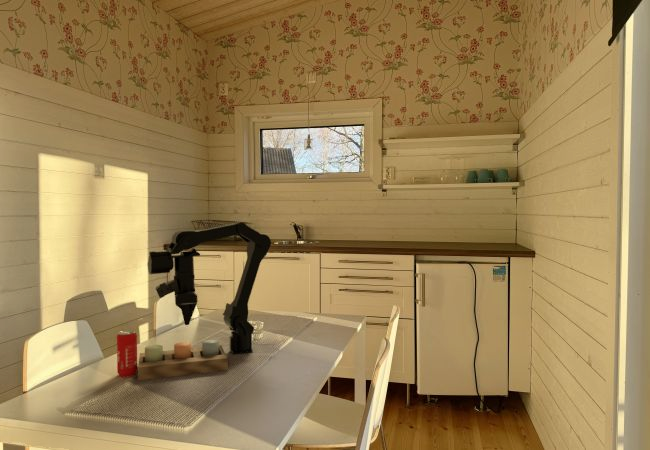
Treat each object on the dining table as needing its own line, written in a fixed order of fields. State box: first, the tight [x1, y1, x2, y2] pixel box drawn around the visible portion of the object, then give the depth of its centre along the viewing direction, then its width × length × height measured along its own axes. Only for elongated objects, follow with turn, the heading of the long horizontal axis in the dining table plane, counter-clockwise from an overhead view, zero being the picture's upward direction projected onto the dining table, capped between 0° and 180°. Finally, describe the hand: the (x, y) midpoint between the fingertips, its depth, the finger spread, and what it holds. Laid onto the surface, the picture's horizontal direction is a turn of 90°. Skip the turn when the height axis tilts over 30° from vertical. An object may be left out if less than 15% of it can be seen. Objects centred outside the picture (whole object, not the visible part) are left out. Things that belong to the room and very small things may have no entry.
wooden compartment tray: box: [137, 345, 229, 381], centre depth 139 cm, size 24×14×4 cm, turn 109°
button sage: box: [144, 344, 164, 362], centre depth 136 cm, size 5×5×4 cm
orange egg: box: [173, 341, 192, 359], centre depth 139 cm, size 5×5×4 cm
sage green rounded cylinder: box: [201, 339, 220, 357], centre depth 142 cm, size 5×5×4 cm
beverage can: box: [116, 329, 138, 378], centre depth 133 cm, size 5×5×12 cm
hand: (186, 321), depth 147 cm, fingers open, 9 cm apart
